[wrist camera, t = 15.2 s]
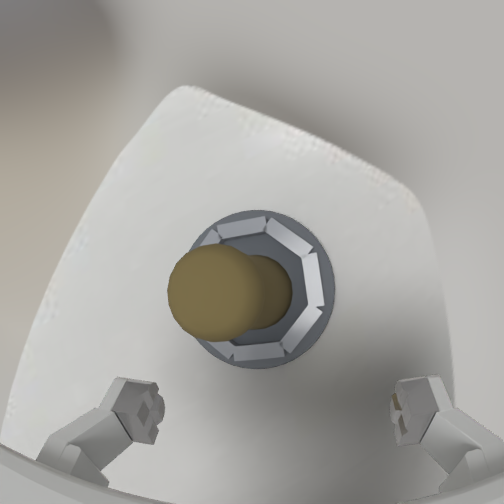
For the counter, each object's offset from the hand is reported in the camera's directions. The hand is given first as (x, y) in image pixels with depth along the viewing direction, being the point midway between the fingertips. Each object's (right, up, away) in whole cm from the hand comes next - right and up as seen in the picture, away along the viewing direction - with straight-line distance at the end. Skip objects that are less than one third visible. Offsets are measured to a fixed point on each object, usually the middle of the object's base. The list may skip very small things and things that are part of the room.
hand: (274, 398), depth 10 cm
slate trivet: (-1, +2, +17) cm, 17 cm away
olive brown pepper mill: (0, +2, +16) cm, 16 cm away
